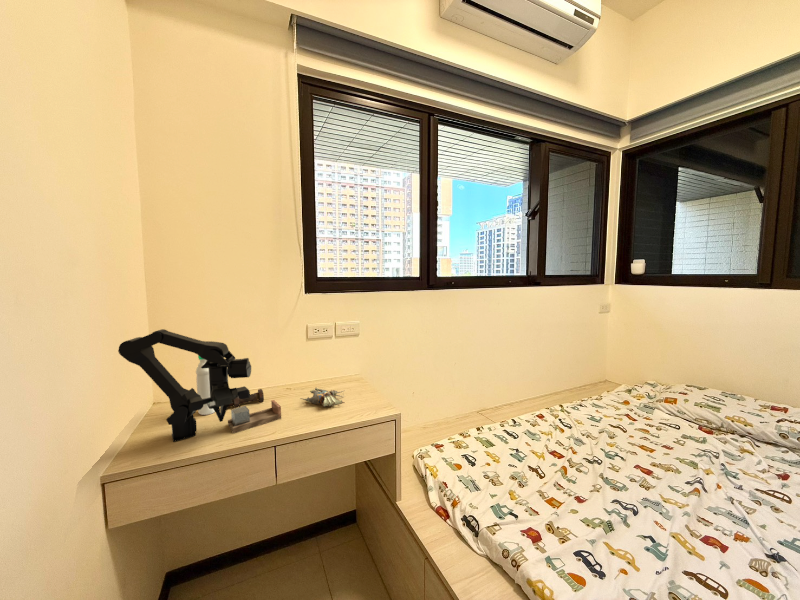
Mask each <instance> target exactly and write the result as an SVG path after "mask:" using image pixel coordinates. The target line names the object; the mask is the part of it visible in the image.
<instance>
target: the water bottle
mask: <svg viewBox="0 0 800 600" xmlns="http://www.w3.org/2000/svg"><path fill="white" fill-rule="evenodd" d="M197 357H198V360H199V363H198V365H197V367H196V370H195V374H196V391H197V392H196V393H197V394H198V395H200V396H201V398H202V399H205V398H209V397H210V385H209V368H201V367H202V366H203V365H204V364H205V363H206V361H207V360H205V359H203V358H201V357H200V356H199V355H197ZM197 412H198V414H199V415H201V416H208V415H212V414H214V413H216V412H215V411H214V409H209V407H208V405H207V404H204V405H203V407H202V409H200V410H197Z"/></svg>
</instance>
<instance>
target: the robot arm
mask: <svg viewBox="0 0 800 600" xmlns="http://www.w3.org/2000/svg"><path fill="white" fill-rule="evenodd" d="M157 344H162V345H165V346H169V347H173V348H174V349H175V348H176V349H180V350H182V351H187V352H190V353H194V354H196V355H197V356H198V355H199V356H200V357H201V358H203V359H205V360H207V361H206V363H205V364H204V365H203V366H202V367H201V368H209V385H210V397H209V398H205V399H202V398H201V396H200V395H198V393H197V392H196V391H197V390H195V388H194V387H191V388H190V389H186V388H184V387H183V386H182V385H181V384H180V382H178V380H177V379H176V378H175V377H174V376H173V375H172V374H171V372H169V371H168V369H167V368H166V367H165V366H164V365H163V364H162V363H161V362H160V361H159V359H158V358H157V357H156V355H155V354H156V353H155V349H154V346H155V345H157ZM117 352H118V354H119V355H120V356H121V357H122V358H123V359H125V360H126V361H128V362H129V363H131V364H133V365H136V366H138V367H140V369H142V370H143V372H144V373H145V374H146V375H147V376H148V377H149V378H150V379H151V381H153V383H155V384H156V386H157V387H158V388H159V389H160V390H161V391H162V392H163V393H164V394H165V396H167V398H168V399H169V404H170V405H169V406H170V408H171V410H172V411H173V412H172V413H171V414H170V415H169V416H168V417H167V418H166V422H167V424H168V425H169V426H170V425H171V438H172V442H173V443H175V442H178V441H183V440H186V439H188V438H189V439H190V438H193V437H195V436H197V433H196V432H197V430H198V429H197V419H196V418H195V417H194V414H195V413H196V412H197V411H198V410H200V409H202V407H203V405H204V404H207V405H208V407H209V409H214V411H215V412H214V413H215V415H216V416H217V418H218V421H219V422H223V421H224V418H225V415H226V412H227V410H228V408H229V407H228V406H229V405H230V404H232V403H233V401H232V400H233V399H236V398H237V397H239V398H240V399H245V398H249V397H250V394H251V391H250V390H249V388H248V387H246V386H240V387H239V386H238V387H233V388H232V387H230V386H229V385H230V384H229V378H230V379H244V378H250V377H251V374H252V364H251V362H250V358H249V357H244V358H237V359H236V357H235V355H234V354H233V353H232V352H231V351H230V350H229V347H228V345H227V344H226V343H224V342H219V341H212V340H211V341H209V340H208V341H206V340H200V339H196V338H192V337H189V336H186V335H182V334H179V333H175V332H172V331H169V330H168V329H165V328H164V329H158V330H155V331H153V332H151V333H149V334H147V335H144V336H139V337H133V338H132V339H131V338H130V339H128V340H125V341H122V342H121V343H120V344H119V346H118V349H117Z"/></svg>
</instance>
